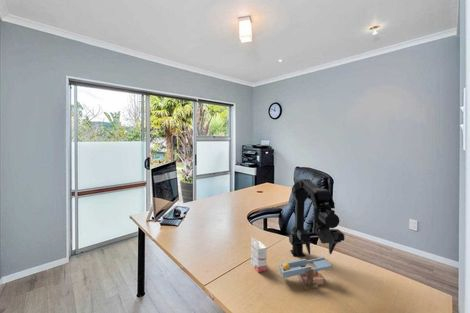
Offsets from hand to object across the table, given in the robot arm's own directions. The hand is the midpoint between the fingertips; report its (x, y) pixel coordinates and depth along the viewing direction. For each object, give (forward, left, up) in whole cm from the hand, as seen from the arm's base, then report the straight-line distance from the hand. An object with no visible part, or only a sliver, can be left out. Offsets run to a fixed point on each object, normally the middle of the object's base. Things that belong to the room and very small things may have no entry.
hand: (319, 254), depth 97 cm
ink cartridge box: (-16, -24, -15) cm, 33 cm away
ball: (-4, -14, -8) cm, 16 cm away
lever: (-4, -5, -9) cm, 11 cm away
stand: (-4, -4, -14) cm, 16 cm away
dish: (-4, -2, -14) cm, 15 cm away
